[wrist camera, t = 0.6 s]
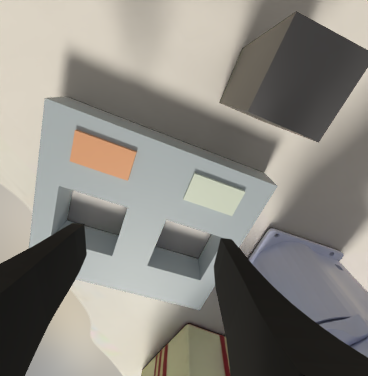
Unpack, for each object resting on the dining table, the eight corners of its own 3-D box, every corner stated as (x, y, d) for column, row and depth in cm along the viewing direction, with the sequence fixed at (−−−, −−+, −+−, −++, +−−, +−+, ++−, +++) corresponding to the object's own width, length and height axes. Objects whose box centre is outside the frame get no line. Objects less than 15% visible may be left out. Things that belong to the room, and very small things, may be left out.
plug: (288, 70, 16) (375, 54, 9) (262, 121, 18) (318, 142, 11) (242, 48, 16) (296, 11, 8) (219, 102, 17) (247, 111, 10)
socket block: (264, 172, 20) (279, 187, 17) (197, 287, 26) (199, 312, 23) (66, 96, 17) (42, 98, 14) (45, 246, 23) (24, 269, 20)
